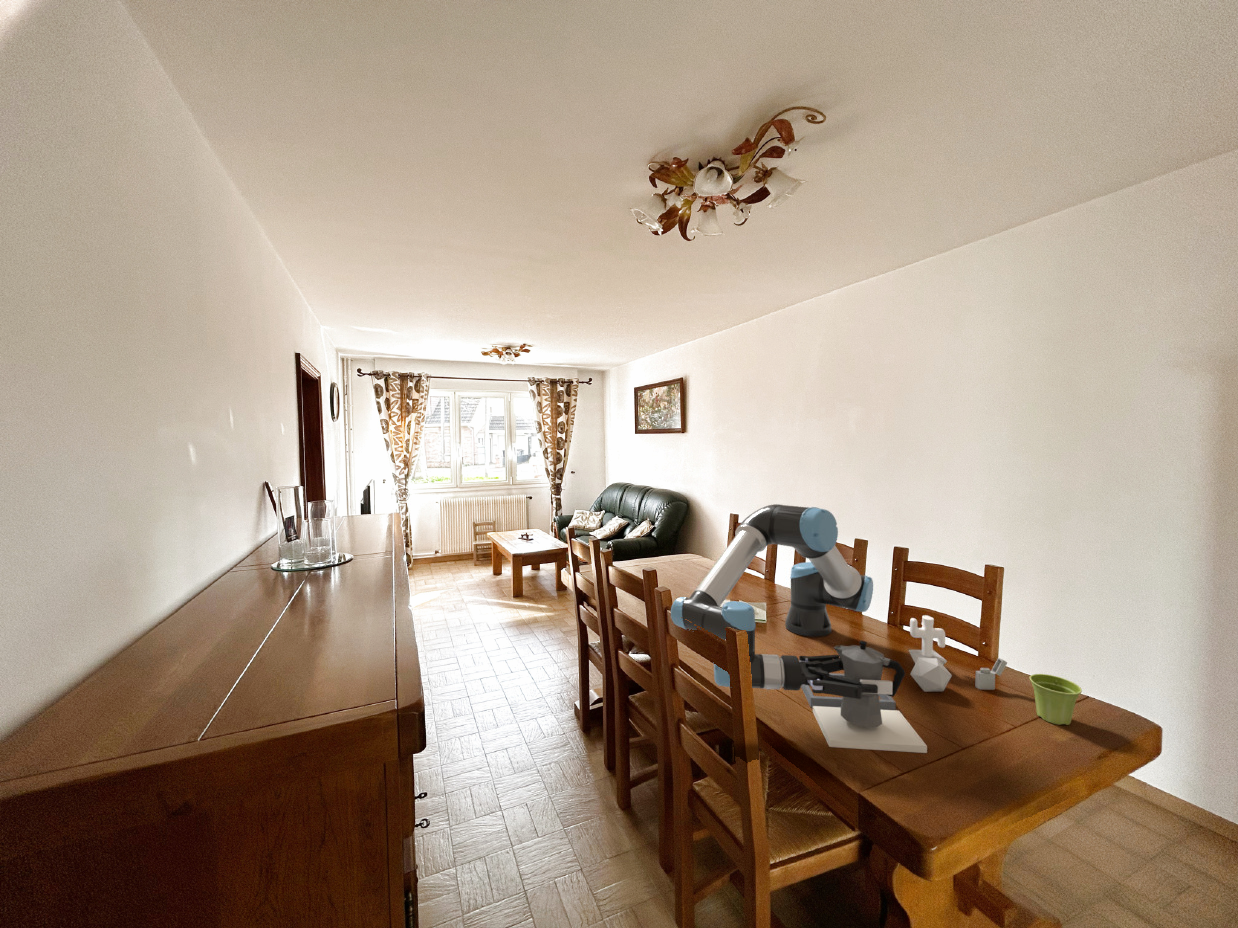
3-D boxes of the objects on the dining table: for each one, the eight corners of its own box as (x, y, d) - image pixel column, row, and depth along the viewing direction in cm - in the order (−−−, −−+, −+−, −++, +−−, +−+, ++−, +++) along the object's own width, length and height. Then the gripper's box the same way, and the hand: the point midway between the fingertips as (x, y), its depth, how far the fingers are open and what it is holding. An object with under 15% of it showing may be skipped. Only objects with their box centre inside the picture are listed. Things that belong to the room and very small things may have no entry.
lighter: (979, 689, 133) (979, 660, 133) (974, 686, 135) (975, 657, 134) (1006, 689, 133) (1007, 660, 132) (1002, 686, 134) (1003, 657, 134)
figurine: (950, 673, 142) (952, 621, 141) (916, 672, 143) (917, 621, 142) (936, 661, 149) (937, 612, 148) (904, 661, 150) (904, 612, 149)
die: (949, 702, 128) (962, 668, 130) (918, 684, 129) (930, 650, 132) (930, 698, 136) (942, 665, 138) (900, 680, 137) (913, 648, 139)
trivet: (812, 711, 123) (812, 705, 123) (898, 716, 121) (898, 710, 121) (829, 746, 109) (829, 740, 109) (926, 752, 107) (927, 746, 107)
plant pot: (1081, 717, 119) (1082, 682, 119) (1079, 735, 112) (1080, 697, 112) (1030, 703, 126) (1031, 670, 125) (1026, 718, 119) (1027, 683, 119)
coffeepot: (823, 712, 117) (825, 638, 116) (840, 698, 124) (842, 627, 122) (895, 742, 106) (898, 660, 105) (909, 724, 112) (912, 646, 111)
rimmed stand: (797, 680, 139) (798, 671, 139) (873, 683, 137) (873, 675, 136) (810, 707, 125) (810, 697, 125) (895, 711, 123) (895, 702, 123)
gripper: (772, 666, 128) (865, 670, 125) (791, 713, 106) (903, 719, 103) (772, 637, 127) (865, 641, 125) (791, 678, 106) (904, 684, 103)
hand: (882, 676), depth 114 cm, fingers closed on coffeepot, 9 cm apart
